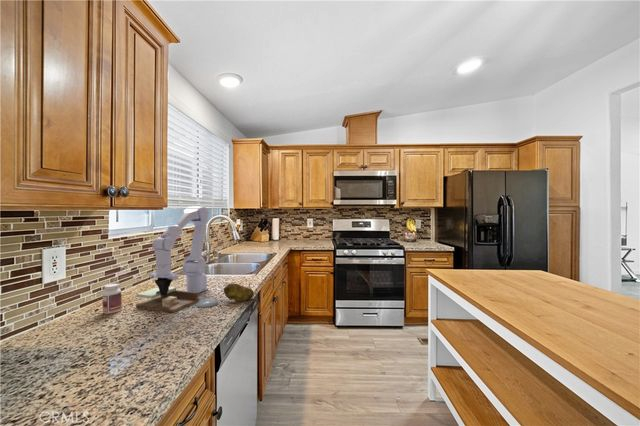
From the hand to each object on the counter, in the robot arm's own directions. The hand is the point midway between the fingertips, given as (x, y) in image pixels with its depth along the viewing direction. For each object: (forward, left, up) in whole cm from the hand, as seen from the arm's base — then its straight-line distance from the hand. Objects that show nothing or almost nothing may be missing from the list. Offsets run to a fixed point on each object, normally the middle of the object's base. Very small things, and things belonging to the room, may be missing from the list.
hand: (164, 294), depth 115 cm
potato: (-15, +28, -5) cm, 32 cm away
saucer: (-7, +17, -5) cm, 19 cm away
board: (-1, +1, -5) cm, 5 cm away
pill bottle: (+12, -15, -5) cm, 20 cm away
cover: (-1, -6, 0) cm, 6 cm away
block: (+1, +4, -5) cm, 6 cm away
